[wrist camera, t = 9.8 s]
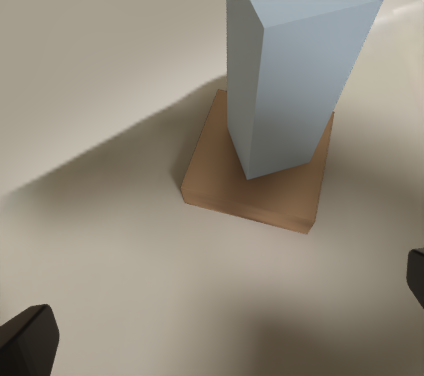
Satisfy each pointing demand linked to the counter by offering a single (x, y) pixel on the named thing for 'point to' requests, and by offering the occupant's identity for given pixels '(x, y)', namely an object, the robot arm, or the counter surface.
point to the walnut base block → (253, 188)
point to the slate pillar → (288, 74)
